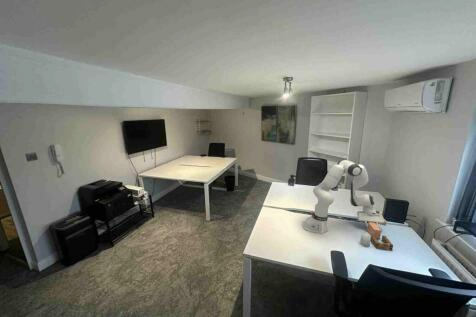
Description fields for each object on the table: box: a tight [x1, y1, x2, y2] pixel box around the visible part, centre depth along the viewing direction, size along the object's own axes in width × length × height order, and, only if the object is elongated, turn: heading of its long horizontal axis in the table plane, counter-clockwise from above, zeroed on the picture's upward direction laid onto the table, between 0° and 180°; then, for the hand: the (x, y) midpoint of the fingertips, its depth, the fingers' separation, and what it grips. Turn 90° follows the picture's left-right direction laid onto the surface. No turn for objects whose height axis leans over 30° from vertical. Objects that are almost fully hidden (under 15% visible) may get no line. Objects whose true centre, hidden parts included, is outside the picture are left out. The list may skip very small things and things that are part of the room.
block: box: [366, 222, 382, 240], centre depth 163 cm, size 5×12×8 cm, turn 167°
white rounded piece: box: [359, 231, 371, 248], centre depth 152 cm, size 6×6×9 cm
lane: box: [369, 233, 394, 252], centre depth 151 cm, size 11×12×5 cm
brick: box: [378, 213, 387, 226], centre depth 186 cm, size 17×8×5 cm, turn 161°
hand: (371, 227), depth 167 cm, fingers closed on block, 5 cm apart
